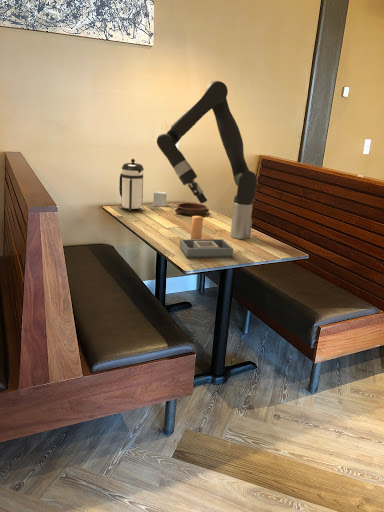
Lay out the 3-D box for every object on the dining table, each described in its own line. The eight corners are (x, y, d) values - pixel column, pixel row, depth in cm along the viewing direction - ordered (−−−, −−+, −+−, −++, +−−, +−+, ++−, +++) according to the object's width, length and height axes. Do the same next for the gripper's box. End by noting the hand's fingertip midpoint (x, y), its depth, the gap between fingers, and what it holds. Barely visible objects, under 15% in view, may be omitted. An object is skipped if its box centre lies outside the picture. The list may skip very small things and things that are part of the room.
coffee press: (146, 207, 260) (148, 158, 250) (141, 213, 245) (142, 160, 235) (119, 205, 261) (120, 156, 251) (112, 210, 246) (112, 158, 236)
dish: (169, 211, 256) (169, 203, 254) (201, 209, 265) (202, 202, 264) (180, 217, 241) (181, 209, 239) (214, 216, 250) (215, 208, 249)
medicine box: (165, 205, 269) (166, 192, 267) (165, 206, 265) (166, 193, 262) (153, 204, 269) (154, 191, 266) (153, 206, 265) (153, 192, 262)
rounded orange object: (199, 240, 200) (201, 215, 196) (202, 243, 195) (204, 218, 191) (189, 240, 198) (191, 215, 195) (192, 243, 194) (193, 218, 190)
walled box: (221, 247, 191) (222, 239, 190) (232, 257, 178) (233, 248, 177) (179, 248, 186) (179, 239, 185) (186, 258, 173) (187, 249, 172)
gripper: (189, 167, 185) (209, 198, 186) (194, 168, 199) (212, 197, 199) (175, 176, 186) (195, 207, 187) (181, 177, 200) (199, 205, 201)
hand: (204, 202), depth 193 cm, fingers open, 8 cm apart
